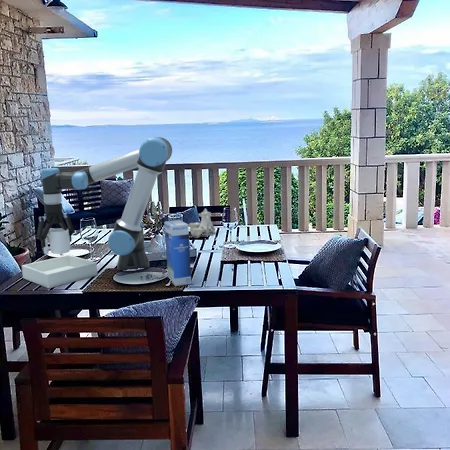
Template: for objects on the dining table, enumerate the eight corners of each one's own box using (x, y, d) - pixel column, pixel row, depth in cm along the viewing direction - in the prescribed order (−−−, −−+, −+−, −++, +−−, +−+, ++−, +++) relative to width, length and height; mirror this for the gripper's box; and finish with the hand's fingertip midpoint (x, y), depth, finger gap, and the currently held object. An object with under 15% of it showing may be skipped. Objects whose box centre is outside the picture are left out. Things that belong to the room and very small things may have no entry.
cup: (69, 253, 221) (68, 231, 219) (41, 255, 218) (39, 232, 216) (70, 249, 229) (68, 227, 227) (43, 251, 226) (41, 229, 224)
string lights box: (191, 284, 209) (189, 224, 204) (174, 286, 206) (171, 226, 201) (183, 275, 221) (180, 219, 216) (166, 278, 219) (163, 221, 214)
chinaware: (186, 233, 321) (182, 208, 317) (211, 228, 323) (208, 204, 320) (192, 242, 294) (188, 215, 290) (219, 237, 297) (216, 210, 293)
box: (97, 275, 227) (96, 262, 226) (48, 288, 210) (47, 274, 208) (70, 266, 243) (69, 254, 242) (23, 278, 226) (21, 265, 225)
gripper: (71, 199, 230) (75, 245, 235) (24, 205, 214) (29, 255, 218) (80, 200, 225) (84, 247, 230) (32, 207, 209) (37, 257, 213)
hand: (57, 251), depth 224 cm, fingers closed on cup, 10 cm apart
